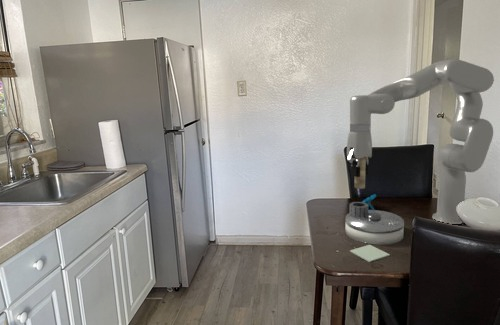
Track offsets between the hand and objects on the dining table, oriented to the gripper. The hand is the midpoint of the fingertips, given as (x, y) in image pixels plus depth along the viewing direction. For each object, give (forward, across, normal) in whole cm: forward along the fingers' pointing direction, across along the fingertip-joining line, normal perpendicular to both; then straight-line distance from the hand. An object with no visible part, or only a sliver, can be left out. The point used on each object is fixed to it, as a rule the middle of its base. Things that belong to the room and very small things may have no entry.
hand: (359, 174), depth 135 cm
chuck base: (+22, 0, +7) cm, 23 cm away
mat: (+22, +16, +16) cm, 32 cm away
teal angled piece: (+22, -21, -12) cm, 33 cm away
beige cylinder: (+5, 0, 0) cm, 5 cm away
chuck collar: (+18, 0, +7) cm, 19 cm away
